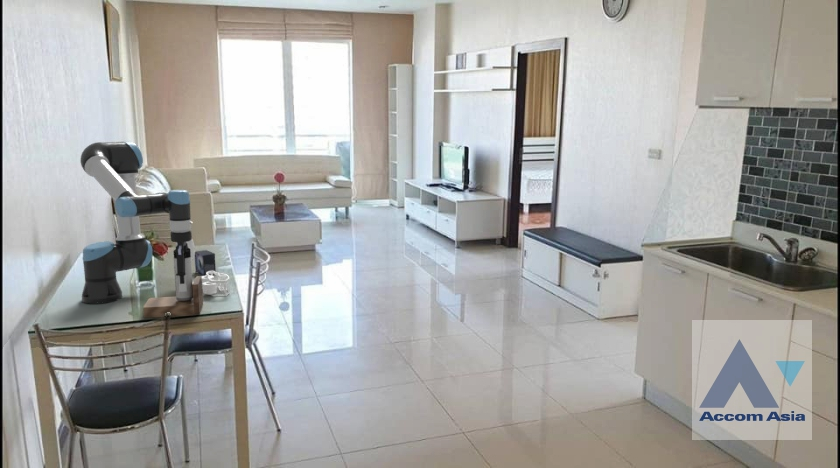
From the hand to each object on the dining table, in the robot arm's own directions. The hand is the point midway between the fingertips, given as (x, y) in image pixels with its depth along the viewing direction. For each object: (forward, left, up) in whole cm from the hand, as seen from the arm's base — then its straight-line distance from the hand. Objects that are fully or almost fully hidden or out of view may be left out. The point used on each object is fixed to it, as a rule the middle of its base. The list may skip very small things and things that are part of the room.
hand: (184, 288), depth 243 cm
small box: (+2, +59, -9) cm, 60 cm away
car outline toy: (+9, +25, -9) cm, 28 cm away
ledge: (-4, 0, -9) cm, 10 cm away
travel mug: (0, 0, -4) cm, 4 cm away
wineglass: (-4, +39, -9) cm, 40 cm away
